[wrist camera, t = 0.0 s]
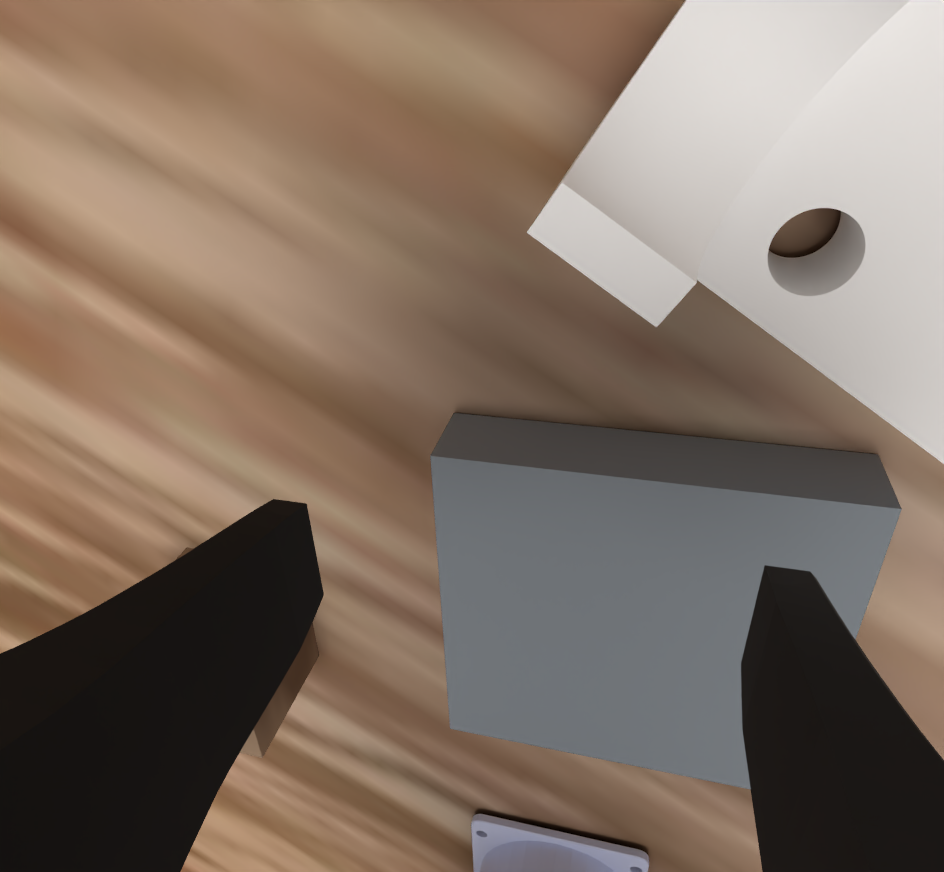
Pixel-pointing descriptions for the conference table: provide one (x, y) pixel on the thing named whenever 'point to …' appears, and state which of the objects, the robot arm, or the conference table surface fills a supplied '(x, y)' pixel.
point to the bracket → (782, 187)
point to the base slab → (633, 579)
